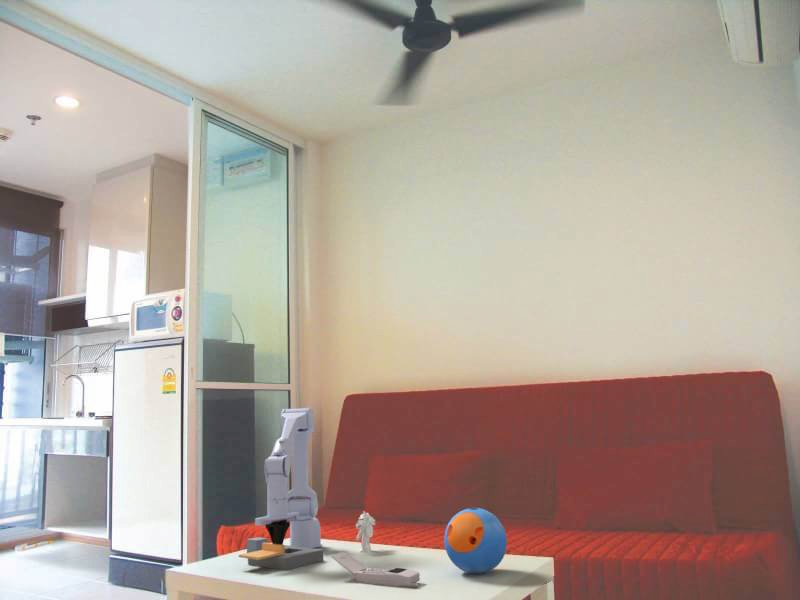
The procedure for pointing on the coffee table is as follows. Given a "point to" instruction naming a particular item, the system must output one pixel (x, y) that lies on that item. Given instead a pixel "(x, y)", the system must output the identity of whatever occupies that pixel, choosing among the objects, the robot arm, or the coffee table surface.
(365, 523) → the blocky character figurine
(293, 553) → the socket base
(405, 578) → the mobile phone
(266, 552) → the panel
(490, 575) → the coffee table surface
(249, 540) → the grey rectangular block
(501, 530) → the treat dispenser ball
